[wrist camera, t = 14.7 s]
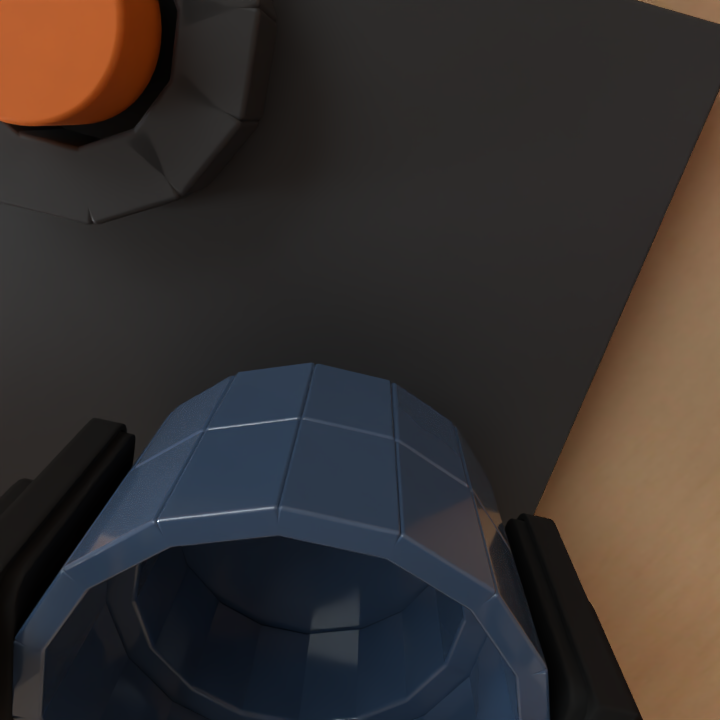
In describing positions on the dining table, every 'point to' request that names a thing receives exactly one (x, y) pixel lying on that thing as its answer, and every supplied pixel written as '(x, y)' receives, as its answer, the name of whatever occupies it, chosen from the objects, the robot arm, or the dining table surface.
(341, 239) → the scale
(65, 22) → the button
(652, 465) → the dining table surface
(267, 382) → the bowl
